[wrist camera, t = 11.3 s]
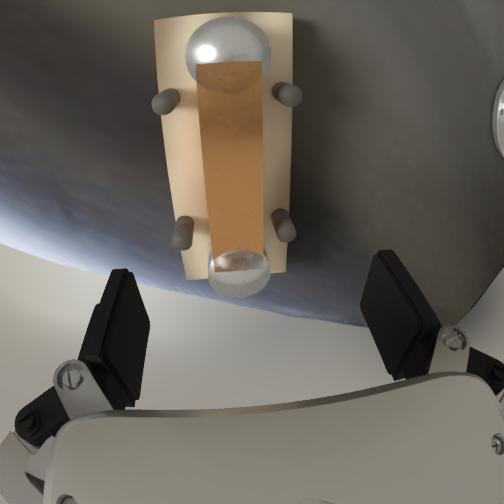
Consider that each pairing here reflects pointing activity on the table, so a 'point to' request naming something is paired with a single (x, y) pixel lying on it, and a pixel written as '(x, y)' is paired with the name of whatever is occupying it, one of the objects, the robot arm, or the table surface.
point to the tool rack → (189, 141)
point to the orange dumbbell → (232, 148)
